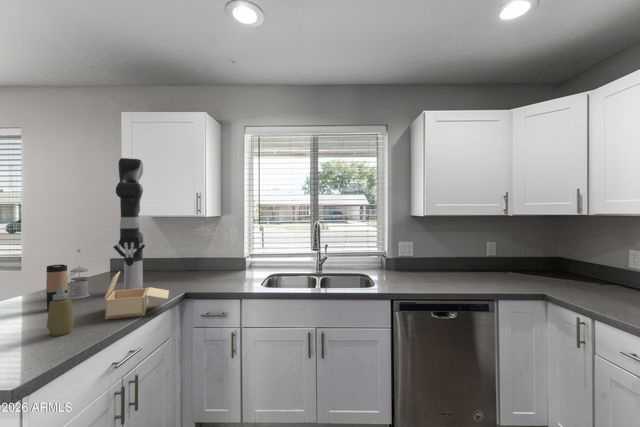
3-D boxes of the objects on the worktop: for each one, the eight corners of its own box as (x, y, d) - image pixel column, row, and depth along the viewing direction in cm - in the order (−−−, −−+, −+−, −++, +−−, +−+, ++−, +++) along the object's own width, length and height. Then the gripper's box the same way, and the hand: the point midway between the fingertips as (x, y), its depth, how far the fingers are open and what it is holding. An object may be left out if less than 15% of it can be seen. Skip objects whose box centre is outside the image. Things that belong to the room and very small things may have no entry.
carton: (114, 306, 160) (114, 289, 160) (148, 303, 166) (148, 287, 166) (104, 321, 139) (104, 301, 139) (143, 317, 144) (143, 298, 144)
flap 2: (149, 287, 163) (169, 290, 166) (149, 288, 163) (168, 291, 166) (145, 295, 147) (167, 298, 150) (145, 295, 147) (167, 299, 150)
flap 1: (111, 290, 157) (119, 271, 158) (112, 290, 157) (120, 271, 158) (104, 298, 141) (112, 277, 142) (105, 298, 141) (113, 277, 143)
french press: (78, 299, 174) (78, 250, 174) (59, 298, 176) (59, 250, 176) (94, 294, 184) (94, 248, 184) (76, 293, 186) (76, 248, 186)
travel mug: (42, 312, 151) (42, 267, 151) (51, 307, 159) (51, 264, 159) (62, 310, 153) (62, 266, 153) (70, 306, 161) (70, 264, 161)
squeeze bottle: (79, 329, 129) (79, 282, 129) (64, 337, 121) (63, 286, 121) (57, 329, 128) (57, 282, 128) (40, 337, 120) (40, 287, 120)
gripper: (146, 226, 158) (147, 263, 158) (114, 227, 153) (114, 265, 153) (145, 227, 151) (145, 266, 151) (111, 227, 146) (111, 268, 146)
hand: (129, 265), depth 152 cm, fingers closed
